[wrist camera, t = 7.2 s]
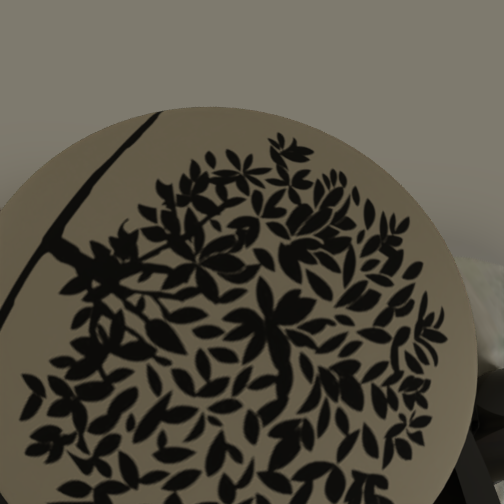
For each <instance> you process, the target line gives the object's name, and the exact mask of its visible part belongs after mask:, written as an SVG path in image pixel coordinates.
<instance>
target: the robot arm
mask: <svg viewBox="0 0 504 504" xmlns="http://www.w3.org/2000/svg"><path fill="white" fill-rule="evenodd" d="M503 480H504V368H503V369H498V370H494V371H491V372H487V373H485V374H483V375H481V376H480V377H479V378H477V387H476V396H475V402H474V408H473V414H472V418H471V422H470V426H469V429H468V433H467V436H466V440H465V443H464V445H463V448H462V450H461V453H460V455H459V458H458V460H457V463H456V465H455V467H454V469H453V471H452V473H451V475H450V477H449V479H448V480H447V482H446V484H445V486H444V488H443V489H442V491H441V492H440V494H439V495H438V497H437V498H436V500H435V501H434V503H433V504H500V501H499V498H498V495H497V492H496V490H495V487H494V484H497V483H499V482H501V481H503ZM0 504H8V503H7V501H6V500H5V499H4V497H3V496H2V494H1V493H0Z"/></svg>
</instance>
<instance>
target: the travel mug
mask: <svg viewBox="0 0 504 504" xmlns="http://www.w3.org/2000/svg"><path fill="white" fill-rule="evenodd" d="M477 373H478V358H477V341H476V333H475V325H474V320H473V315H472V310H471V306H470V302H469V298H468V295H467V292H466V289H465V286H464V283H463V280H462V277H461V275H460V272H459V270H458V267H457V265H456V263H455V260H454V258H453V256H452V254H451V253H450V251H449V249H448V247H447V245H446V243H445V241H444V239H443V238H442V236H441V235H440V233H439V232H438V230H437V228H436V227H435V225H434V224H433V222H432V221H431V219H430V218H429V217H428V216H427V214H426V213H425V212H424V210H423V209H422V208H421V206H420V205H419V204H418V203H417V202H416V201H415V200H414V198H413V197H412V196H411V195H410V194H409V193H408V192H407V191H406V190H405V189H404V188H403V187H402V186H401V185H400V184H399V183H398V182H397V181H396V180H395V179H394V178H393V177H392V176H391V175H390V174H388V173H387V172H386V171H385V170H384V169H382V168H381V167H380V166H378V165H377V164H376V163H375V162H373V161H372V160H371V159H369V158H368V157H366V156H365V155H363V154H362V153H360V152H359V151H357V150H356V149H354V148H353V147H351V146H349V145H348V144H346V143H344V142H342V141H341V140H339V139H337V138H335V137H333V136H330V135H328V134H327V133H325V132H322V131H320V130H318V129H316V128H313V127H311V126H308V125H305V124H303V123H300V122H297V121H294V120H291V119H288V118H284V117H281V116H277V115H273V114H268V113H264V112H258V111H253V110H245V109H237V108H224V107H192V108H181V109H172V110H166V111H161V112H155V113H150V114H146V115H142V116H138V117H135V118H132V119H129V120H125V121H123V122H120V123H117V124H114V125H111V126H109V127H107V128H104V129H102V130H100V131H98V132H95V133H93V134H91V135H89V136H87V137H86V138H84V139H82V140H80V141H78V142H77V143H75V144H73V145H71V146H70V147H68V148H67V149H65V150H64V151H62V152H61V153H59V154H58V155H57V156H55V157H54V158H52V159H51V160H50V161H49V162H47V163H46V164H45V165H44V166H43V167H42V168H40V169H39V170H38V171H37V172H35V173H34V174H33V175H32V176H31V177H30V178H29V179H28V180H27V181H26V182H25V183H24V184H23V185H22V186H21V187H20V188H19V190H18V191H17V192H16V193H15V194H14V195H13V196H12V198H11V199H10V200H9V201H8V202H7V204H6V205H5V206H4V208H3V209H2V210H1V212H0V493H1V494H2V496H3V497H4V499H5V500H6V501H7V503H8V504H433V503H434V501H435V500H436V498H437V497H438V495H439V494H440V492H441V491H442V489H443V488H444V486H445V484H446V482H447V480H448V479H449V477H450V475H451V473H452V471H453V469H454V467H455V465H456V463H457V460H458V458H459V455H460V453H461V450H462V448H463V445H464V443H465V440H466V436H467V433H468V429H469V426H470V422H471V418H472V414H473V408H474V402H475V396H476V387H477Z"/></svg>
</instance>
